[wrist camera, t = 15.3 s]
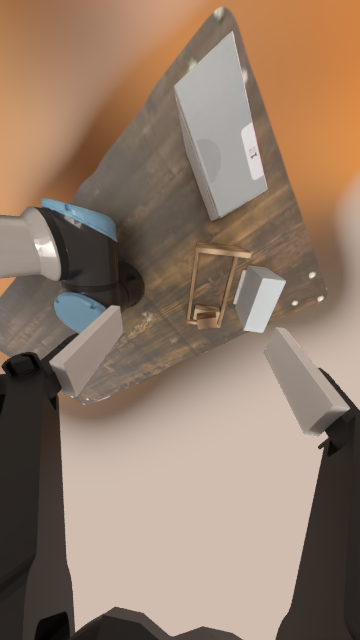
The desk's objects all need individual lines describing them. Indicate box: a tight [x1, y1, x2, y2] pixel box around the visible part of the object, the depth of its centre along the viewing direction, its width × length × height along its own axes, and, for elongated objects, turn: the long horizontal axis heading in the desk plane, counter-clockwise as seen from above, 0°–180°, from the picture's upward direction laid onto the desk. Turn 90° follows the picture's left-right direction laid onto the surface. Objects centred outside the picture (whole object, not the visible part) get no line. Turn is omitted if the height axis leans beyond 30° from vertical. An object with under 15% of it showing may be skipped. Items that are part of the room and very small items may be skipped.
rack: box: [186, 242, 252, 328], centre depth 46 cm, size 12×26×12 cm, turn 175°
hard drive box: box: [174, 31, 267, 222], centre depth 30 cm, size 16×8×20 cm, turn 27°
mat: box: [233, 270, 246, 304], centre depth 50 cm, size 7×11×1 cm, turn 175°
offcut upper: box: [196, 311, 217, 329], centre depth 51 cm, size 6×4×4 cm, turn 102°
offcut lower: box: [193, 304, 220, 322], centre depth 54 cm, size 8×4×4 cm, turn 83°
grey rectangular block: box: [235, 265, 286, 333], centre depth 44 cm, size 5×14×13 cm, turn 174°
